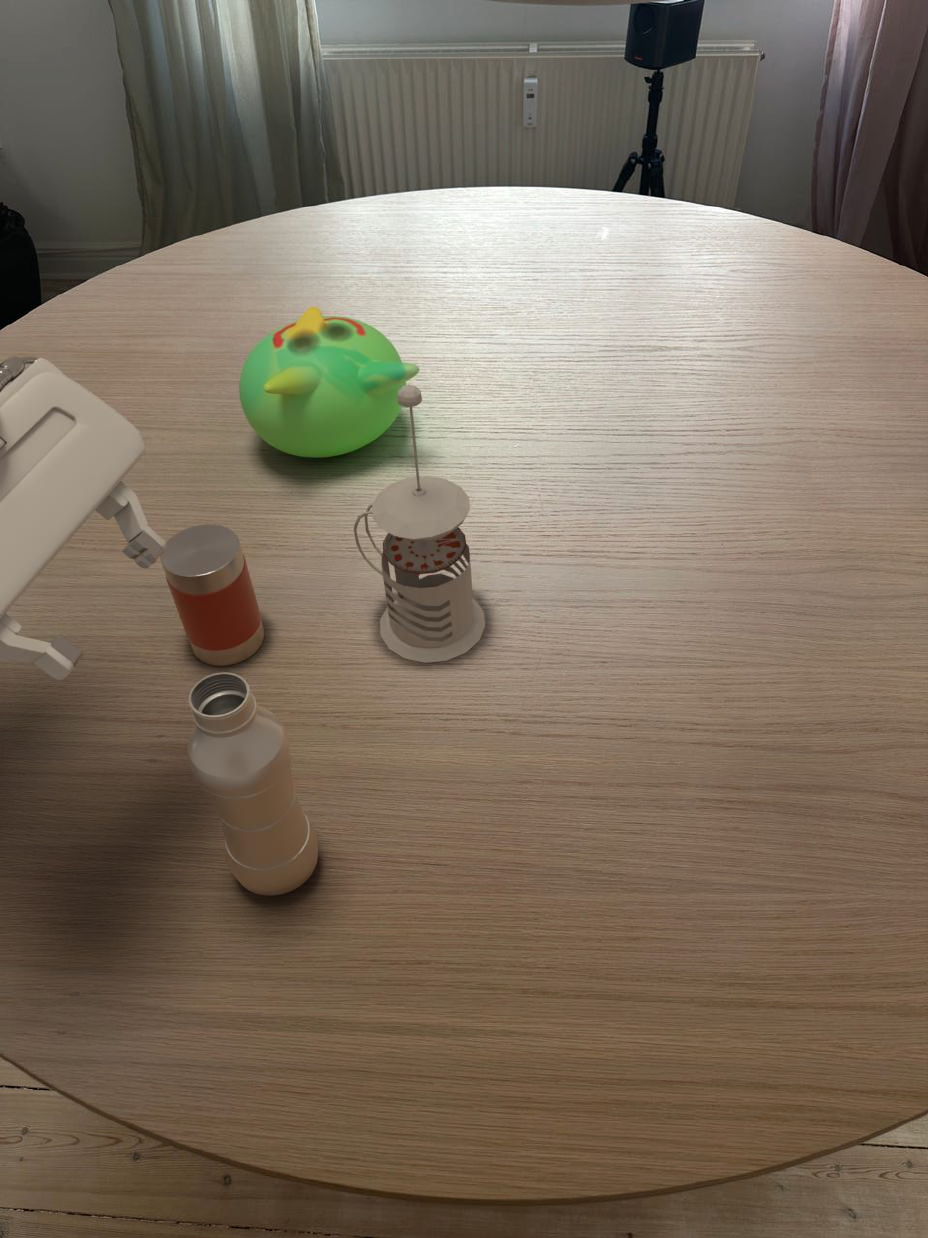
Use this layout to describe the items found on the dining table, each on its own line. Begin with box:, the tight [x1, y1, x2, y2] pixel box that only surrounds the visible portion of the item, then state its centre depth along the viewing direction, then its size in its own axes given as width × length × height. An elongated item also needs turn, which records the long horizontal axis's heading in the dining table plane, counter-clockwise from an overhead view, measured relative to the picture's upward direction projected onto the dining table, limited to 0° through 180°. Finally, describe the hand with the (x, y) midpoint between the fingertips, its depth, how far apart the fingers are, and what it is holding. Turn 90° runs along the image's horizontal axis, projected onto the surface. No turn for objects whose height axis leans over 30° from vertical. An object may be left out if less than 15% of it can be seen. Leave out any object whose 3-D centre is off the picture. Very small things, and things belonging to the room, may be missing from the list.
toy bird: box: [238, 306, 420, 458], centre depth 106 cm, size 18×17×15 cm
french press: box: [353, 384, 486, 664], centre depth 82 cm, size 10×12×25 cm
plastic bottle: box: [187, 671, 319, 897], centre depth 66 cm, size 6×7×20 cm
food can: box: [159, 523, 265, 667], centre depth 86 cm, size 7×7×11 cm
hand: (117, 610), depth 57 cm, fingers open, 8 cm apart
